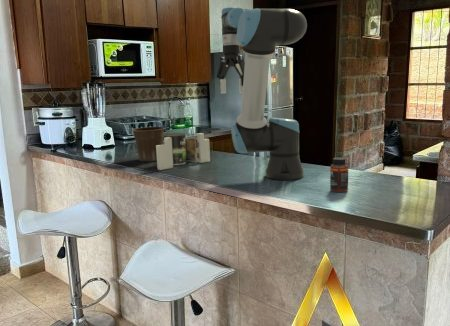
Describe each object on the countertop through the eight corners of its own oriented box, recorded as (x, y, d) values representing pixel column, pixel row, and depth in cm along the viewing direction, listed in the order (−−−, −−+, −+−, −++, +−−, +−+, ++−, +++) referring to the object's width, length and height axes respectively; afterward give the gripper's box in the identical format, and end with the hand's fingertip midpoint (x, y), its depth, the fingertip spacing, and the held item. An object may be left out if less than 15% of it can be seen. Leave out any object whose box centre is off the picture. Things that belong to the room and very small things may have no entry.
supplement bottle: (351, 190, 145) (351, 157, 142) (343, 193, 140) (343, 160, 138) (335, 187, 149) (335, 156, 146) (326, 191, 144) (327, 158, 142)
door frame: (210, 161, 206) (208, 132, 203) (160, 170, 190) (158, 139, 187) (207, 160, 208) (206, 132, 205) (157, 169, 191) (155, 138, 189)
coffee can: (189, 161, 208) (187, 133, 205) (183, 165, 198) (181, 135, 195) (169, 161, 210) (167, 133, 207) (162, 165, 200) (160, 136, 197)
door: (198, 160, 208) (197, 137, 205) (195, 161, 205) (194, 138, 202) (176, 158, 213) (175, 137, 211) (172, 160, 210) (171, 138, 208)
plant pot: (143, 164, 205) (140, 131, 202) (129, 159, 218) (127, 128, 215) (172, 159, 215) (170, 128, 212) (157, 155, 228) (155, 126, 224)
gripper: (207, 47, 194) (209, 93, 198) (242, 42, 174) (244, 93, 178) (220, 47, 198) (222, 93, 202) (256, 42, 179) (257, 93, 183)
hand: (232, 93), depth 190 cm, fingers open, 13 cm apart
